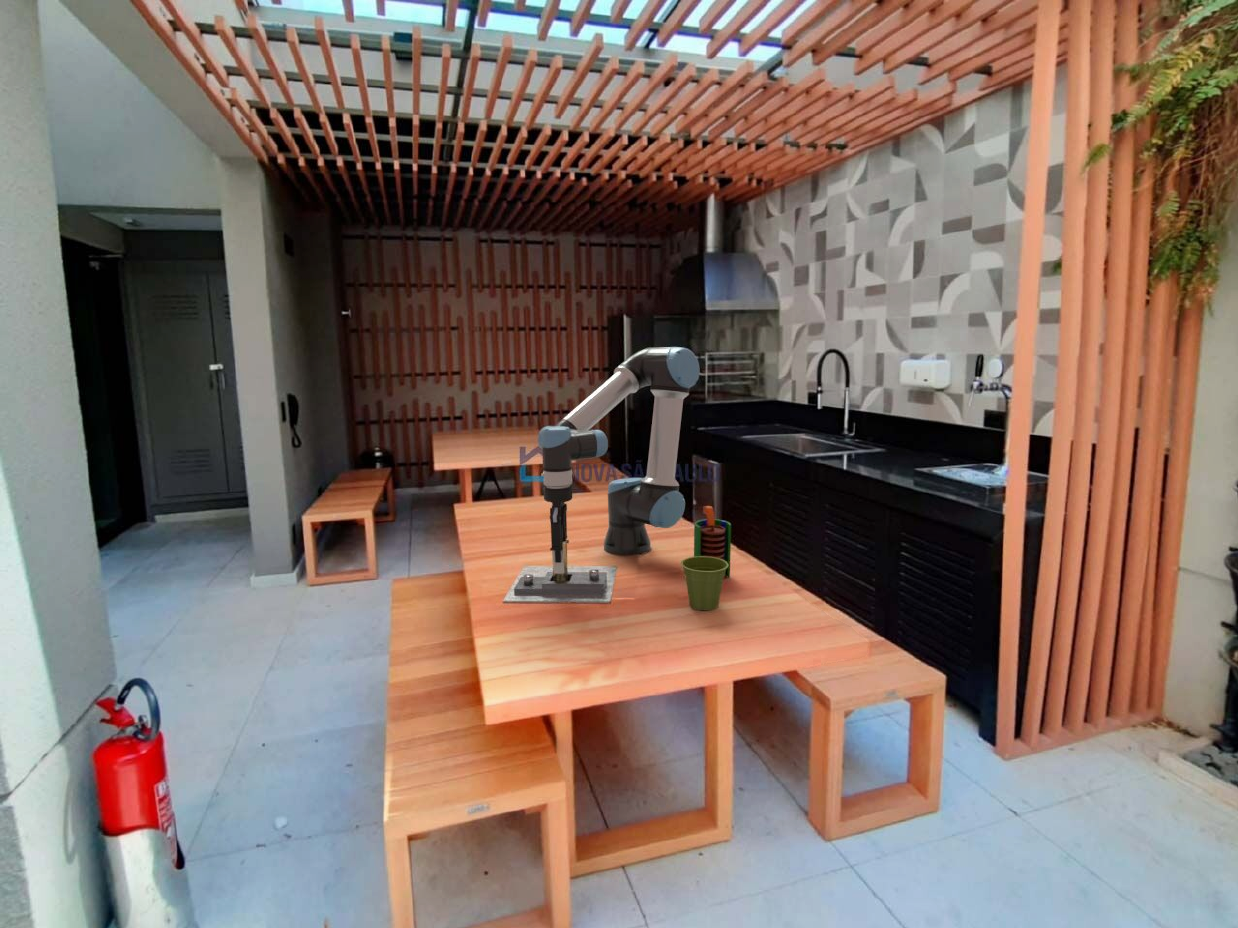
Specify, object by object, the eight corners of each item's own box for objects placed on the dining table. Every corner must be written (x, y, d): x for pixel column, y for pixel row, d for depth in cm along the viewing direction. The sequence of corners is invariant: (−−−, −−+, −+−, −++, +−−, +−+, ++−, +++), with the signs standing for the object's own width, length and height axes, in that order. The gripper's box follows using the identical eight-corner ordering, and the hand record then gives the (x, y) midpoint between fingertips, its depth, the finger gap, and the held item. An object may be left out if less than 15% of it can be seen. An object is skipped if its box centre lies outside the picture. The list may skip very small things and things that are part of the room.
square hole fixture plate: (617, 567, 196) (617, 550, 195) (610, 603, 170) (609, 582, 169) (524, 567, 198) (523, 549, 197) (502, 602, 171) (501, 582, 170)
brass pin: (568, 582, 181) (567, 540, 179) (566, 587, 177) (565, 544, 175) (554, 582, 181) (553, 540, 179) (552, 587, 177) (550, 544, 175)
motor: (704, 584, 181) (705, 514, 178) (686, 575, 189) (686, 507, 185) (734, 578, 186) (735, 509, 182) (715, 568, 194) (716, 502, 190)
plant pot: (716, 618, 159) (716, 574, 157) (672, 609, 165) (672, 566, 163) (735, 602, 169) (735, 560, 167) (693, 593, 175) (693, 553, 173)
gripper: (549, 479, 183) (551, 559, 187) (537, 492, 166) (541, 581, 170) (576, 478, 182) (578, 560, 186) (567, 492, 165) (569, 581, 170)
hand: (560, 569), depth 178 cm, fingers closed on brass pin, 4 cm apart
